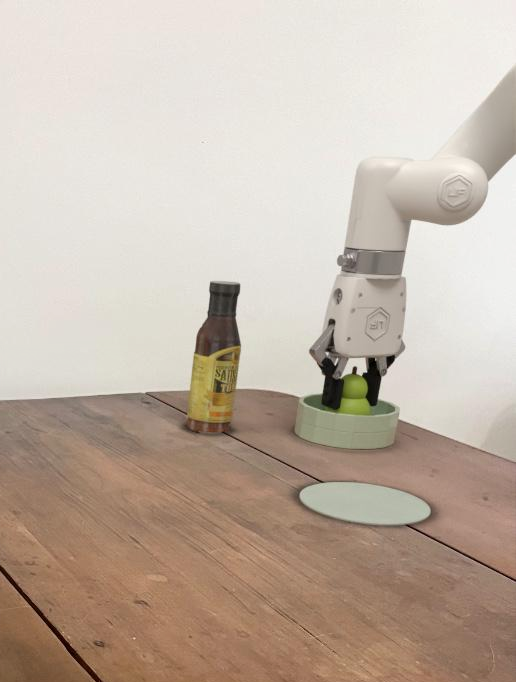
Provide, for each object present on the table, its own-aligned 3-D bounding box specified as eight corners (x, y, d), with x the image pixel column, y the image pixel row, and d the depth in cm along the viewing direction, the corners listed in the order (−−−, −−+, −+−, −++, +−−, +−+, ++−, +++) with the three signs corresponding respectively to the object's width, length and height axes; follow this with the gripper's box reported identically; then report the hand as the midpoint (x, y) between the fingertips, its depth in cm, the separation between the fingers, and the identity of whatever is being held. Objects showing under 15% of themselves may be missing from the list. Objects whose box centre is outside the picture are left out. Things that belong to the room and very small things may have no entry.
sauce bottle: (213, 439, 125) (230, 285, 116) (176, 429, 129) (189, 280, 120) (240, 431, 129) (257, 282, 121) (203, 422, 133) (217, 278, 125)
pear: (357, 430, 129) (369, 362, 125) (372, 442, 124) (385, 371, 120) (315, 429, 129) (326, 361, 125) (329, 441, 124) (340, 370, 119)
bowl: (372, 428, 133) (378, 394, 131) (408, 454, 121) (415, 417, 119) (282, 427, 132) (287, 392, 130) (310, 453, 120) (316, 415, 118)
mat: (399, 485, 109) (400, 482, 109) (452, 527, 96) (453, 524, 96) (284, 484, 108) (284, 481, 107) (321, 526, 95) (322, 523, 95)
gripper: (337, 267, 111) (314, 416, 118) (445, 267, 117) (417, 407, 125) (299, 261, 117) (280, 403, 125) (403, 261, 123) (379, 395, 131)
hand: (349, 404), depth 125 cm, fingers closed on pear, 5 cm apart
